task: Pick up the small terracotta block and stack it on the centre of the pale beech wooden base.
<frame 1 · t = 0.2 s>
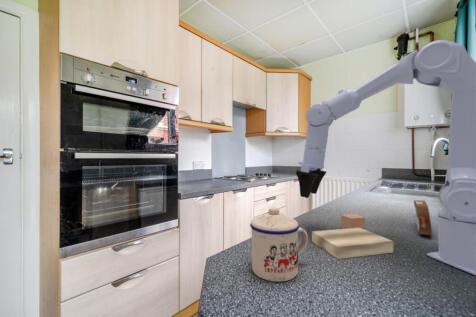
hand: (308, 194, 62), 11 cm above the countertop, tool pointing down, fingers open, 7 cm apart
brown curved slab: (422, 231, 61), on the countertop
base: (349, 246, 51), on the countertop
teacup with lid: (281, 269, 41), on the countertop
block: (352, 229, 64), on the countertop
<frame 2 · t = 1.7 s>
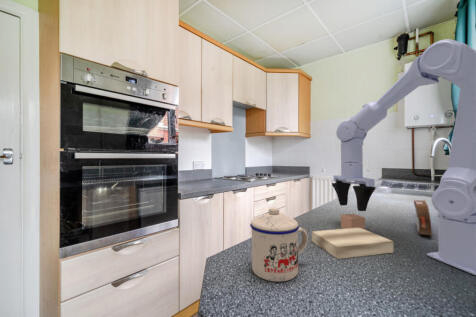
hand: (352, 207, 64), 6 cm above the countertop, tool pointing down, fingers open, 7 cm apart
nothing on the countertop moved.
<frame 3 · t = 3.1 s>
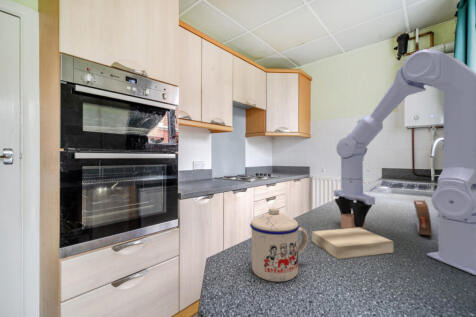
hand: (352, 224, 64), 1 cm above the countertop, tool pointing down, fingers closed on block, 4 cm apart
block: (352, 229, 64), on the countertop, touching gripper
everything else where it was.
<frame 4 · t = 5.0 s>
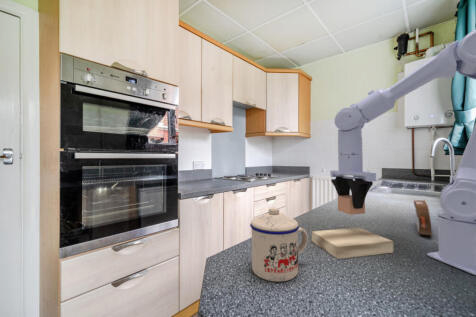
hand: (351, 206, 56), 8 cm above the countertop, tool pointing down, fingers closed on block, 4 cm apart
block: (351, 211, 56), point 7 cm above the countertop, touching gripper
everything else where it was.
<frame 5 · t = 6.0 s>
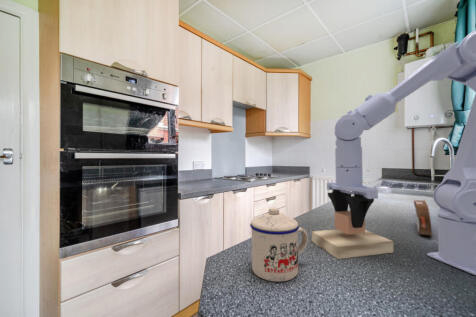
hand: (349, 224, 51), 5 cm above the countertop, tool pointing down, fingers closed on block, 4 cm apart
block: (349, 230, 51), point 4 cm above the countertop, touching gripper
everything else where it was.
when the fingers open (5 cm above the countertop, at t = 7.0 s): block stays where it is, resting on base.
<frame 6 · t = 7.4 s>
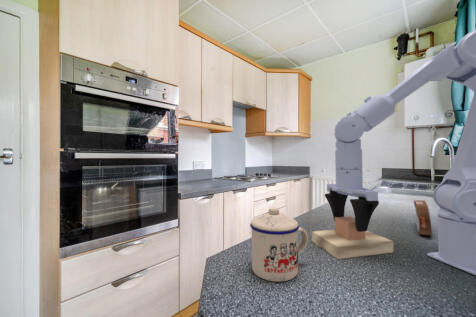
hand: (349, 225, 51), 5 cm above the countertop, tool pointing down, fingers open, 7 cm apart
block: (349, 236, 51), point 2 cm above the countertop, touching base
everything else where it was.
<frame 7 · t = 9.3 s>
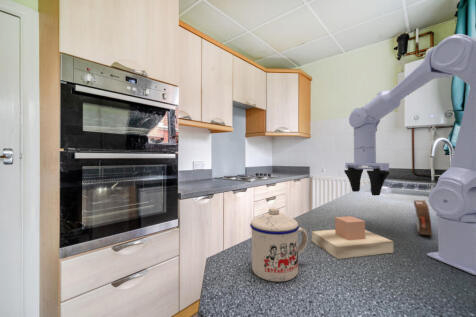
hand: (365, 193, 65), 10 cm above the countertop, tool pointing down, fingers open, 7 cm apart
nothing on the countertop moved.
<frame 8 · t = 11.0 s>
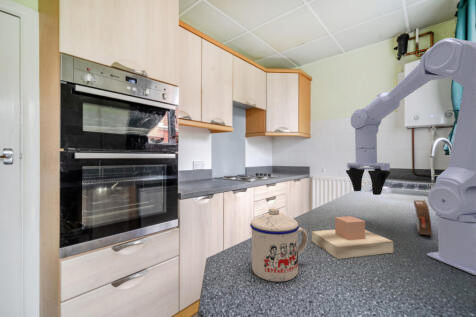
hand: (366, 192, 66), 10 cm above the countertop, tool pointing down, fingers open, 7 cm apart
nothing on the countertop moved.
at the end: block inside the target area on the base (0.0 cm from its centre), point 2.5 cm above the base's base; block tilted 0°; the gripper is holding nothing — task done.
